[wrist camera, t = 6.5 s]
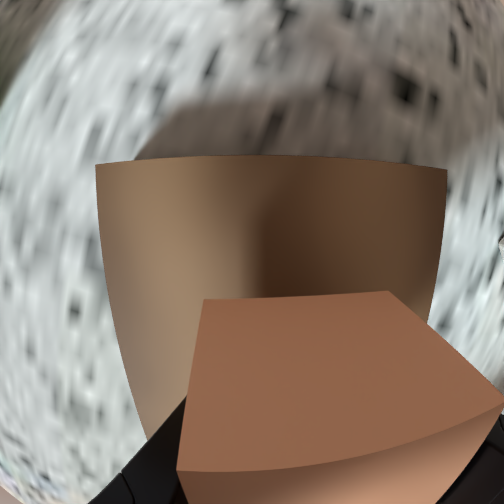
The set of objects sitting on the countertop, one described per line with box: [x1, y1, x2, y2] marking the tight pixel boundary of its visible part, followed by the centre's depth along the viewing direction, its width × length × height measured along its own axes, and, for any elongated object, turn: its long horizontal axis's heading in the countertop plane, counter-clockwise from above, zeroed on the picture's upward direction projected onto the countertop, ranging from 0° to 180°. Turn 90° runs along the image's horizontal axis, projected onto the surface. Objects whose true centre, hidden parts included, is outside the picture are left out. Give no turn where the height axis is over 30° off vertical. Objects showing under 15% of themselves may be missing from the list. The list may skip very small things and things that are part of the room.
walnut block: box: [95, 155, 447, 440], centre depth 12 cm, size 12×12×4 cm
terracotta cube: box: [176, 291, 504, 504], centre depth 6 cm, size 5×5×5 cm
